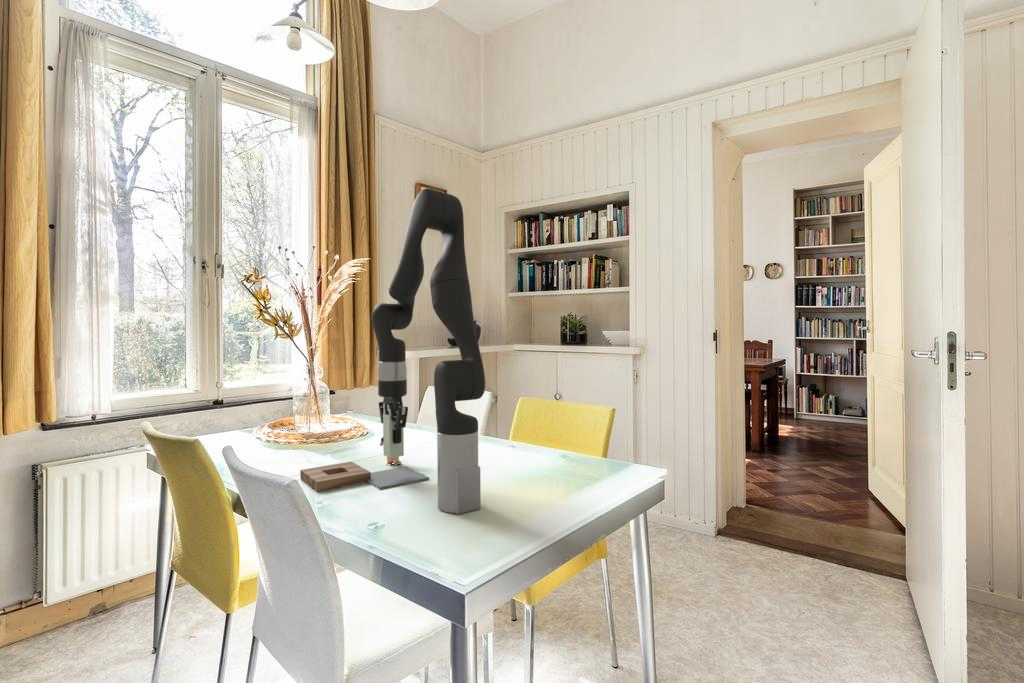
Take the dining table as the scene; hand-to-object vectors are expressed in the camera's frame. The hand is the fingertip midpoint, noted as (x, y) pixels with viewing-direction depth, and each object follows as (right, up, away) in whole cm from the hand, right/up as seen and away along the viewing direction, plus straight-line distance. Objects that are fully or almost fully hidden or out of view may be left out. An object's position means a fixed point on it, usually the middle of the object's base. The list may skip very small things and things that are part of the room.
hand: (393, 441), depth 143 cm
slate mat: (0, -10, 0) cm, 10 cm away
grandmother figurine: (-4, -10, +15) cm, 18 cm away
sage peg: (0, -4, 0) cm, 4 cm away
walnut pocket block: (-15, -10, -1) cm, 18 cm away
